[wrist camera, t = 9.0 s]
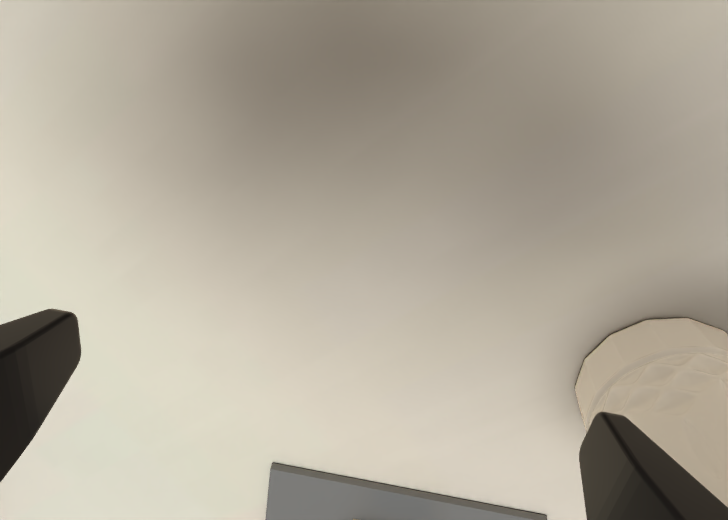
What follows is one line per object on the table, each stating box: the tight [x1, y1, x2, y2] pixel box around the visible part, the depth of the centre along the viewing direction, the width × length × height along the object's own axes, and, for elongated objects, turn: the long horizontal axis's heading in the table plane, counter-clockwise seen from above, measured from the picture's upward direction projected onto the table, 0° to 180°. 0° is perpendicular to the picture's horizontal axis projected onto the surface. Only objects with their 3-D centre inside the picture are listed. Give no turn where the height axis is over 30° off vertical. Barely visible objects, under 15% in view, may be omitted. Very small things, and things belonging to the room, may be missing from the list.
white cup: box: [575, 318, 728, 507], centre depth 18 cm, size 8×8×10 cm
